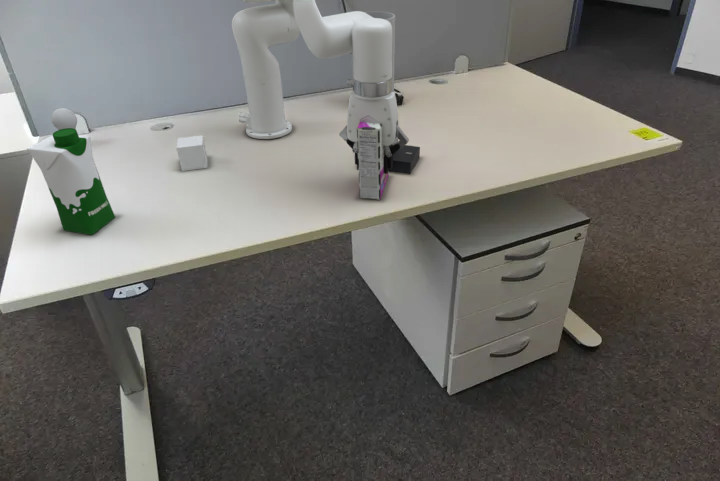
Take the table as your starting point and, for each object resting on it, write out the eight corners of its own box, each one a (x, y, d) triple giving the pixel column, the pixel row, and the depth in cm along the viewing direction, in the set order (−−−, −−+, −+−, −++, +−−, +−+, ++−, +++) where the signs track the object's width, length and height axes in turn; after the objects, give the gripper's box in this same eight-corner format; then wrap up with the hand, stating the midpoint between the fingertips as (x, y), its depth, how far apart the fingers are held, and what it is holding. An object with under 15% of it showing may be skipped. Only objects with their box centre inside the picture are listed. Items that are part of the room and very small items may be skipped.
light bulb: (89, 144, 140) (76, 108, 134) (66, 151, 137) (53, 114, 131) (79, 138, 143) (67, 103, 138) (57, 145, 140) (44, 109, 134)
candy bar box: (367, 175, 121) (366, 106, 111) (388, 177, 120) (389, 107, 110) (357, 199, 112) (355, 126, 102) (380, 201, 111) (380, 128, 101)
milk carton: (93, 238, 102) (56, 143, 90) (55, 232, 104) (15, 138, 93) (122, 215, 109) (91, 124, 97) (86, 210, 111) (52, 120, 100)
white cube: (207, 167, 126) (202, 144, 123) (182, 171, 125) (176, 148, 122) (207, 157, 131) (202, 135, 128) (183, 160, 130) (177, 138, 127)
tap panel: (360, 168, 123) (360, 156, 122) (373, 151, 131) (373, 139, 130) (409, 175, 120) (409, 163, 118) (420, 157, 128) (420, 145, 126)
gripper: (325, 89, 102) (330, 171, 113) (410, 96, 98) (407, 182, 108) (339, 77, 108) (343, 157, 119) (419, 84, 103) (416, 166, 114)
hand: (373, 168), depth 113 cm, fingers closed on candy bar box, 5 cm apart
